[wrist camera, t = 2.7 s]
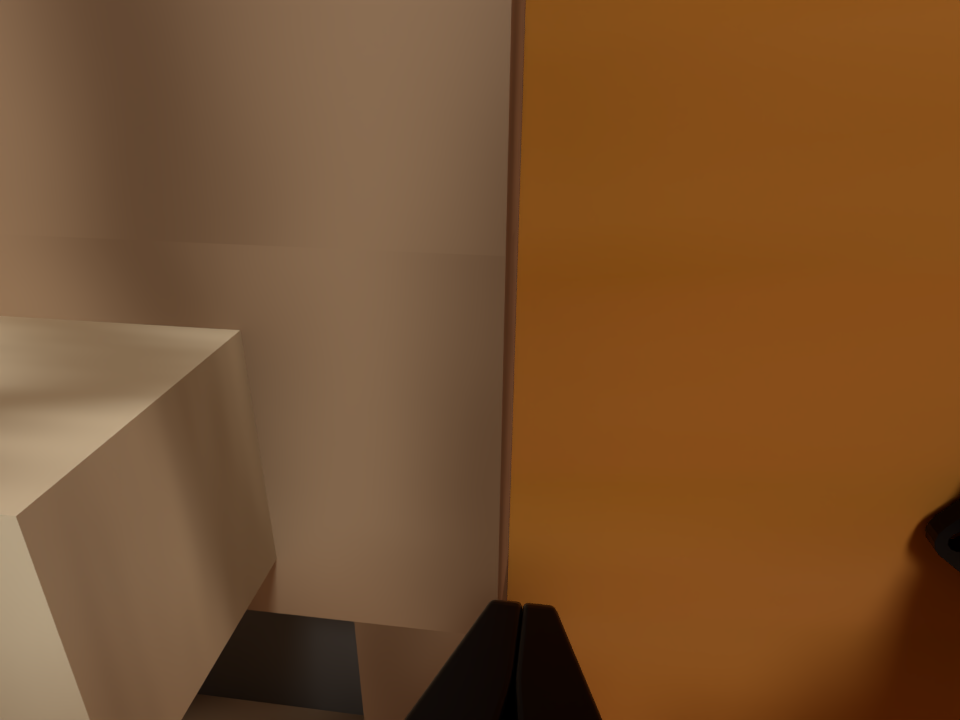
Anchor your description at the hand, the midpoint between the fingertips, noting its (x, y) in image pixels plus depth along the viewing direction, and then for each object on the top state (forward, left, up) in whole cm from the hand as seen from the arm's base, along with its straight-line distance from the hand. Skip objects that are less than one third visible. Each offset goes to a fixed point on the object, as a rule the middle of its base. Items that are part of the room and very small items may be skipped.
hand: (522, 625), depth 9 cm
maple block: (+6, +5, -3) cm, 8 cm away
